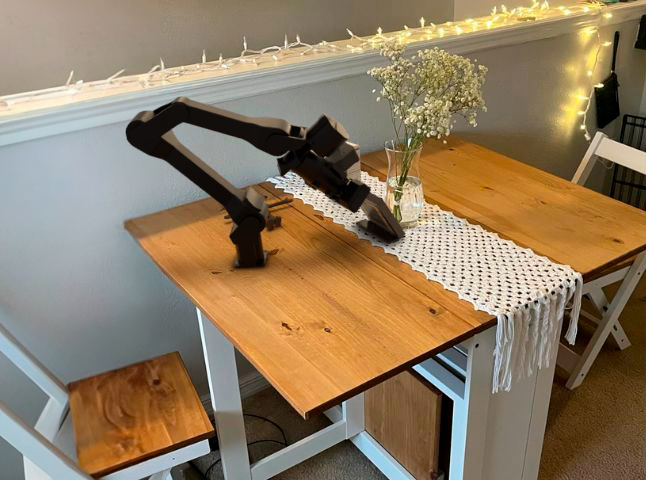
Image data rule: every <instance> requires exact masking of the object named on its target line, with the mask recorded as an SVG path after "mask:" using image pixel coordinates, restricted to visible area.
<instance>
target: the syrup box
mask: <svg viewBox="0 0 646 480" xmlns="http://www.w3.org/2000/svg"><path fill="white" fill-rule="evenodd" d="M345 143H347V144H349V145H352V146H353V147H354V148H355V150H356V152H357V154H358V156H359V158H360V160H359V161H358V162H357V163H355V164H354V165H353V166H351V167H350V168H349V169H348V170H346V171H345V172H346V173H347V174H348V175H347V176H346V177H347V178H348V179H349V178H351V179H353V180H354V179H357V180H359V181H361V182H362V170H361V169H362V167H361V153H360V152H361V151H360V144H356V143H353V142H350V141H348V140H347V141H346V142H345ZM332 201H333V202H335V200H332Z"/></svg>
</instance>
